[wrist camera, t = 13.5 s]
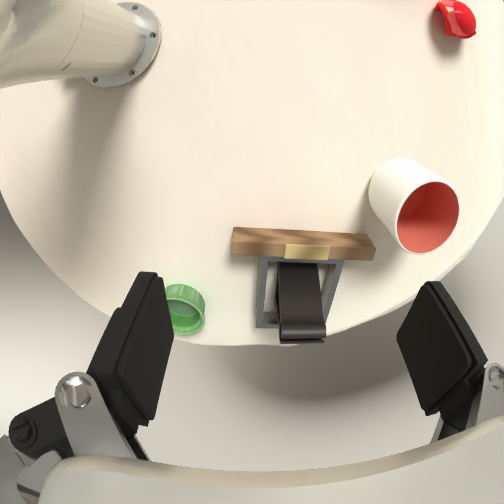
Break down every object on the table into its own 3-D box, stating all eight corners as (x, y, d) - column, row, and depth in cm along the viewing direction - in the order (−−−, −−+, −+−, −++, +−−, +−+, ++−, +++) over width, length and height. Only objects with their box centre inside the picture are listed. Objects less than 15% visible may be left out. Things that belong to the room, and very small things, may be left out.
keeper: (255, 315, 49) (255, 327, 47) (261, 243, 41) (261, 254, 38) (321, 316, 49) (323, 328, 47) (339, 247, 41) (344, 258, 39)
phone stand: (278, 260, 43) (284, 317, 33) (316, 261, 43) (332, 317, 33) (274, 303, 47) (277, 360, 37) (308, 303, 48) (318, 359, 37)
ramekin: (189, 324, 51) (185, 342, 47) (150, 299, 48) (143, 316, 44) (218, 300, 48) (215, 319, 44) (175, 271, 44) (168, 289, 41)
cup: (410, 223, 39) (441, 259, 30) (357, 212, 38) (382, 249, 29) (431, 165, 33) (470, 191, 25) (376, 146, 32) (411, 168, 24)
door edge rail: (233, 239, 41) (231, 256, 37) (233, 226, 39) (231, 242, 36) (363, 246, 41) (372, 262, 37) (366, 234, 40) (376, 249, 36)
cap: (449, 42, 20) (487, 46, 16) (440, 3, 16) (480, 7, 12) (438, 28, 23) (471, 31, 20) (429, -4, 19) (463, -2, 15)
